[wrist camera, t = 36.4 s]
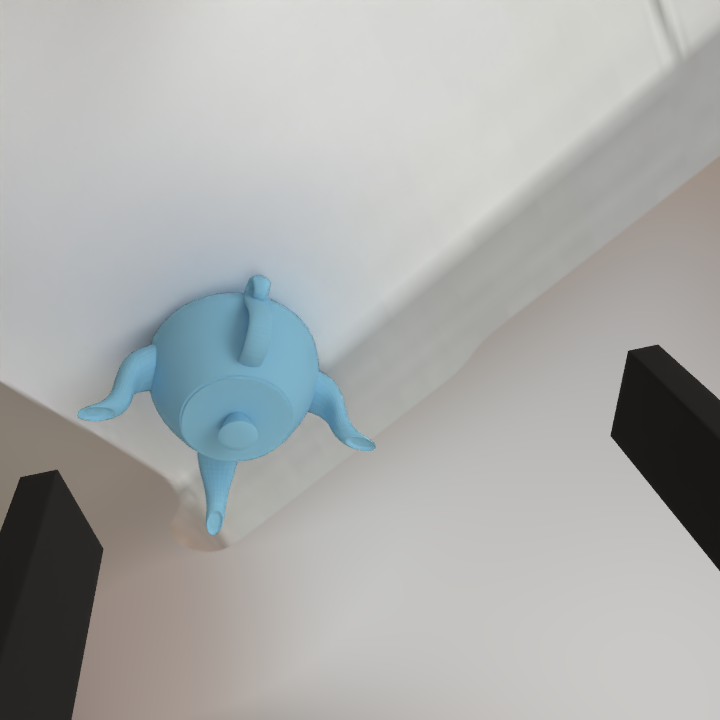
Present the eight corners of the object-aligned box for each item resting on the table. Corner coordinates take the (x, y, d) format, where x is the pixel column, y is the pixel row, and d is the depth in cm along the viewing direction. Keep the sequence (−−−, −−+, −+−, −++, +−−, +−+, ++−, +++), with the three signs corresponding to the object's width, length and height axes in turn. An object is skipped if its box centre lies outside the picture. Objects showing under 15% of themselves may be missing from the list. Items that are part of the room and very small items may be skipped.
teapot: (269, 237, 43) (281, 306, 34) (357, 377, 52) (383, 458, 43) (99, 329, 44) (72, 417, 36) (213, 450, 53) (212, 542, 45)
